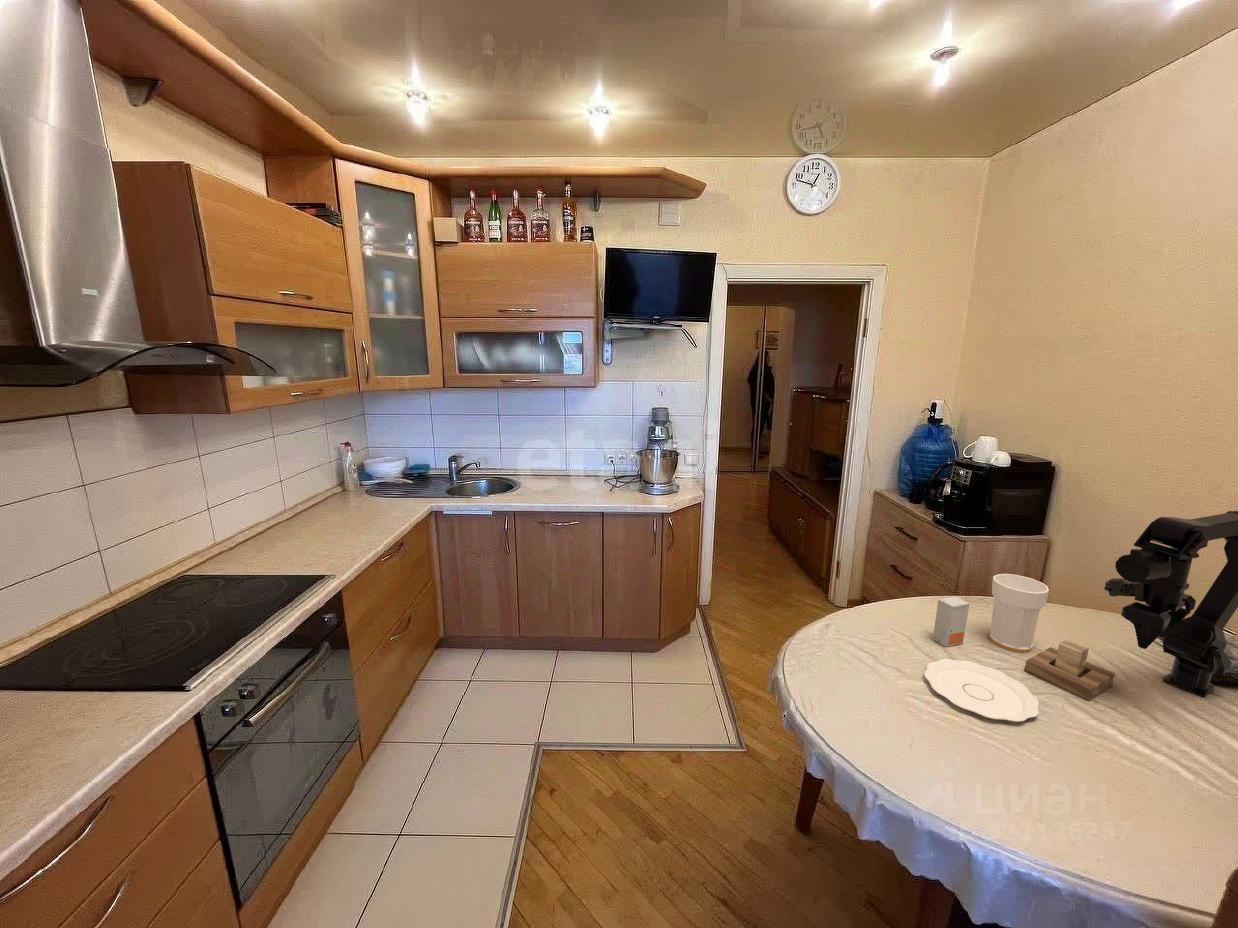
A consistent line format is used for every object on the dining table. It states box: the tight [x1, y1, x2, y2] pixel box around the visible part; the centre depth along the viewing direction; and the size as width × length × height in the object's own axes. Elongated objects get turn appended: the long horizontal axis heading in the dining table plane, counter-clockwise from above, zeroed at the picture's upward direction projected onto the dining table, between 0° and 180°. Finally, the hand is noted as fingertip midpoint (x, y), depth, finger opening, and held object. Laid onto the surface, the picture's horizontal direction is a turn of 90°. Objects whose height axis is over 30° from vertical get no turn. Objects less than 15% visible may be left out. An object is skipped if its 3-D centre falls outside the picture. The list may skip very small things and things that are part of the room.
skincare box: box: [932, 596, 970, 648], centre depth 128 cm, size 6×4×12 cm
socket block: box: [1024, 646, 1116, 702], centre depth 113 cm, size 12×12×3 cm
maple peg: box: [1055, 639, 1090, 678], centre depth 113 cm, size 4×4×8 cm
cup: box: [988, 573, 1050, 653], centre depth 126 cm, size 11×11×17 cm
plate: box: [923, 658, 1040, 723], centre depth 109 cm, size 21×21×2 cm
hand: (1150, 642), depth 105 cm, fingers open, 9 cm apart
